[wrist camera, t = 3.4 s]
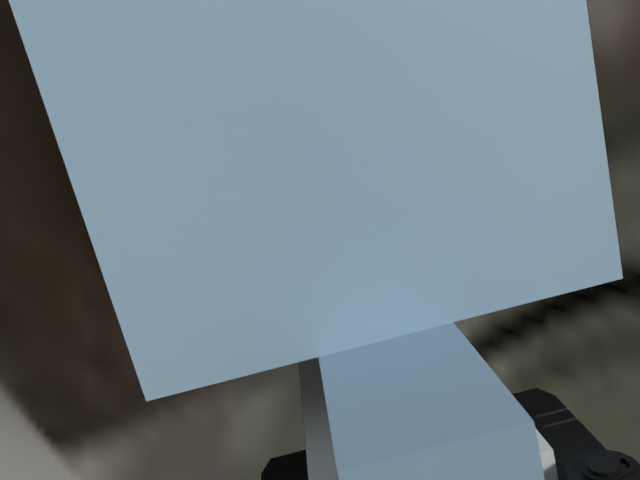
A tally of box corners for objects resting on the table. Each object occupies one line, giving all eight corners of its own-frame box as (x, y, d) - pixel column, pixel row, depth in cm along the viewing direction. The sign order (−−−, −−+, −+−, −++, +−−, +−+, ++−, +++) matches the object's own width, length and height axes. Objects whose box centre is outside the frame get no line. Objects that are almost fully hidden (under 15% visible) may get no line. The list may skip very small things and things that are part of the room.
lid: (-64, -324, 12) (-437, -794, 6) (471, -452, 12) (679, -1046, 6) (219, 532, 16) (184, 790, 10) (604, 431, 16) (799, 626, 10)
